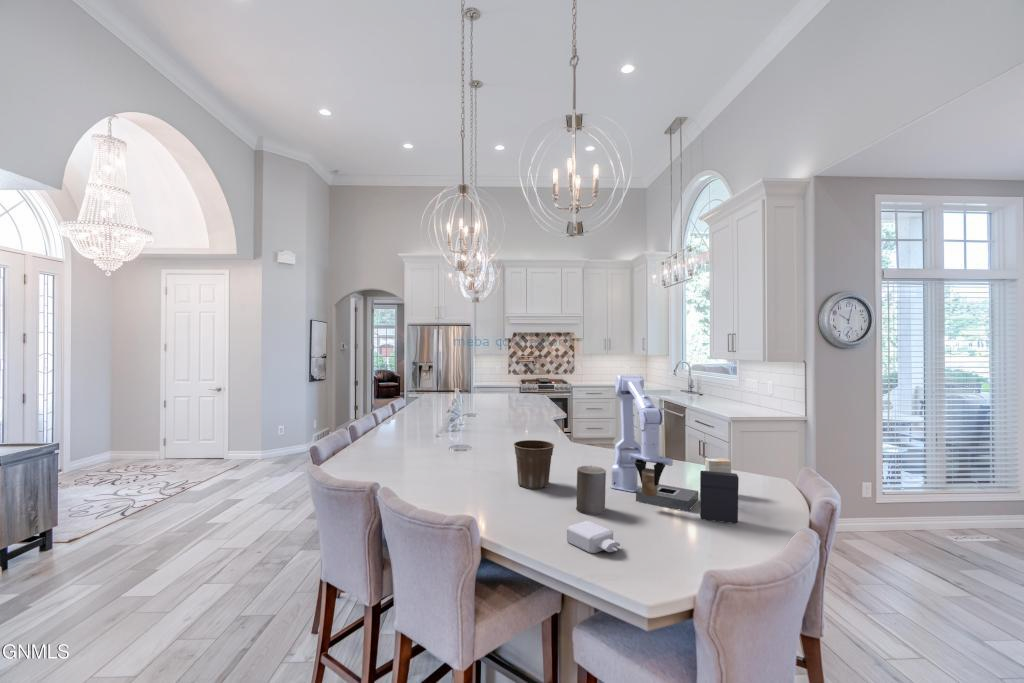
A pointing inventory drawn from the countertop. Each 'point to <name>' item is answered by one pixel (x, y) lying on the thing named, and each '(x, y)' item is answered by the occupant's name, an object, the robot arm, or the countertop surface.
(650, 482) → the key peg
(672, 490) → the grey peg hole board
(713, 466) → the supplement box
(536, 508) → the countertop surface
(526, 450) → the plant pot
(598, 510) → the pillar candle
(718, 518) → the black rectangular box
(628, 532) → the countertop surface
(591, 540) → the charger
